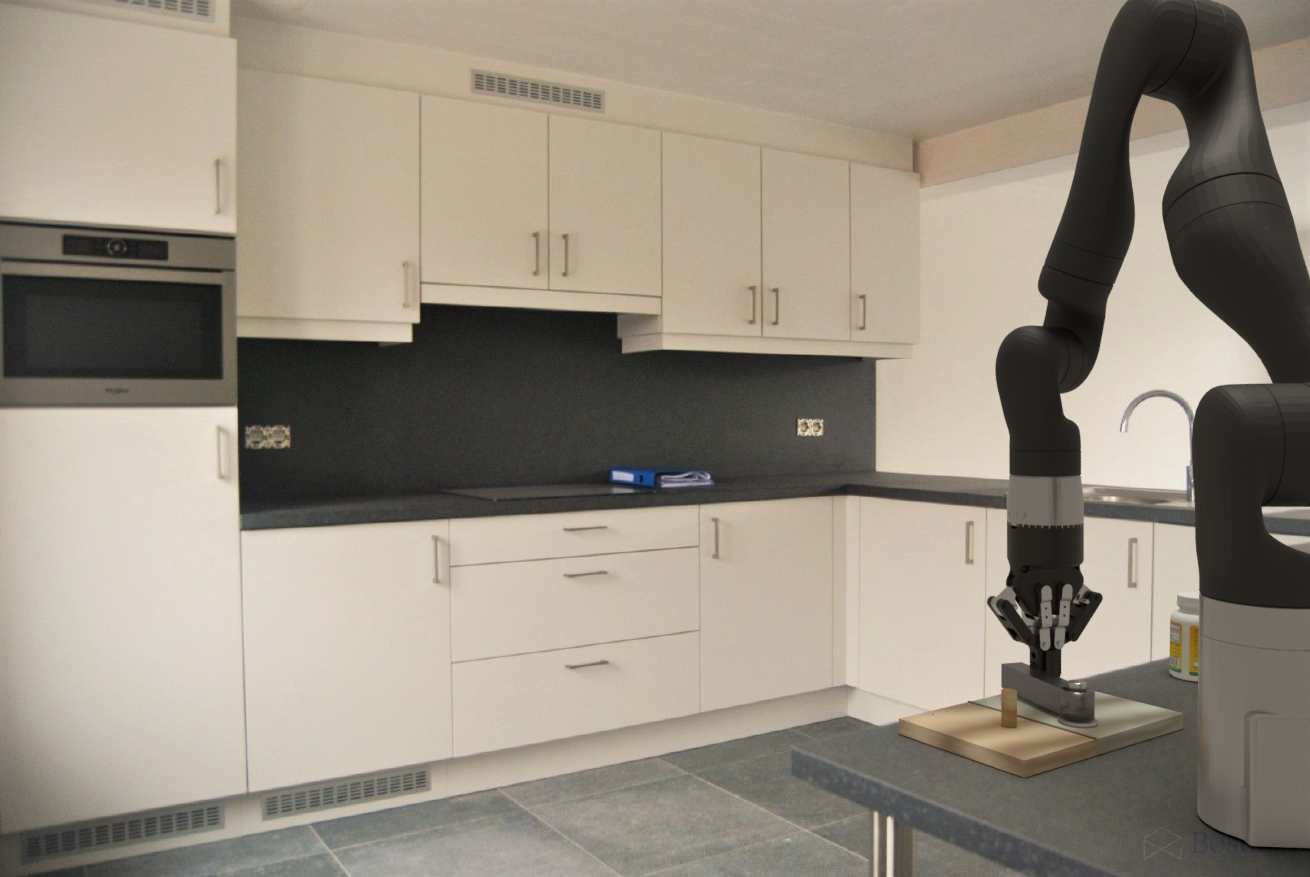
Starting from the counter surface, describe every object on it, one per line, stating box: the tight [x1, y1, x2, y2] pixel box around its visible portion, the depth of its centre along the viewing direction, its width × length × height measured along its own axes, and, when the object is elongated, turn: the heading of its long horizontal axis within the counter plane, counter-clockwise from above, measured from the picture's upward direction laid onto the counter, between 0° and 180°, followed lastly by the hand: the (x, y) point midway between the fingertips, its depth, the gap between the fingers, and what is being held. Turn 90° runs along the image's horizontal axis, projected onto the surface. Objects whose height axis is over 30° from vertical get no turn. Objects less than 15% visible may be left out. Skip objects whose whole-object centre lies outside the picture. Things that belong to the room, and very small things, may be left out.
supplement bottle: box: [1168, 591, 1200, 683], centre depth 121 cm, size 5×5×10 cm
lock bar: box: [1000, 661, 1096, 721], centre depth 104 cm, size 12×3×3 cm, turn 14°
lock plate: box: [898, 688, 1184, 779], centre depth 102 cm, size 14×24×5 cm, turn 123°
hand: (1045, 683), depth 110 cm, fingers closed
